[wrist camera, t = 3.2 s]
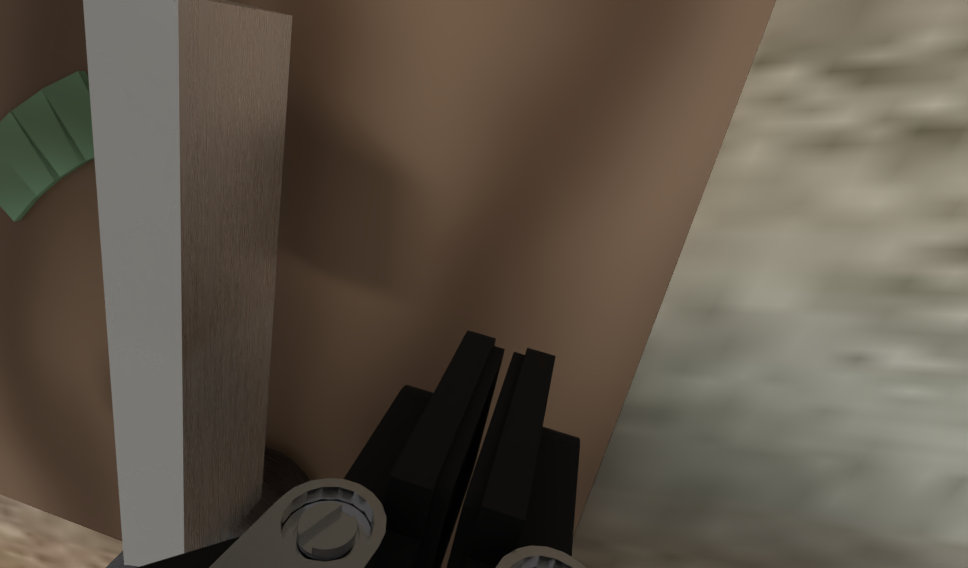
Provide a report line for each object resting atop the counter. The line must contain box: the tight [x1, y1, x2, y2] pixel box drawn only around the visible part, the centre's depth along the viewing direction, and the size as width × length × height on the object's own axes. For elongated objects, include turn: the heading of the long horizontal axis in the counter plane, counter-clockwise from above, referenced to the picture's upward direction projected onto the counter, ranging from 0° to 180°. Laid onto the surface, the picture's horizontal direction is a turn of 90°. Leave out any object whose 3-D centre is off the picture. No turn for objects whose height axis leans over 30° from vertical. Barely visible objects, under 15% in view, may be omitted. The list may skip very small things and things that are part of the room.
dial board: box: [0, 0, 776, 568], centre depth 16 cm, size 21×23×2 cm
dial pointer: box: [83, 0, 310, 568], centre depth 13 cm, size 18×4×5 cm, turn 168°
